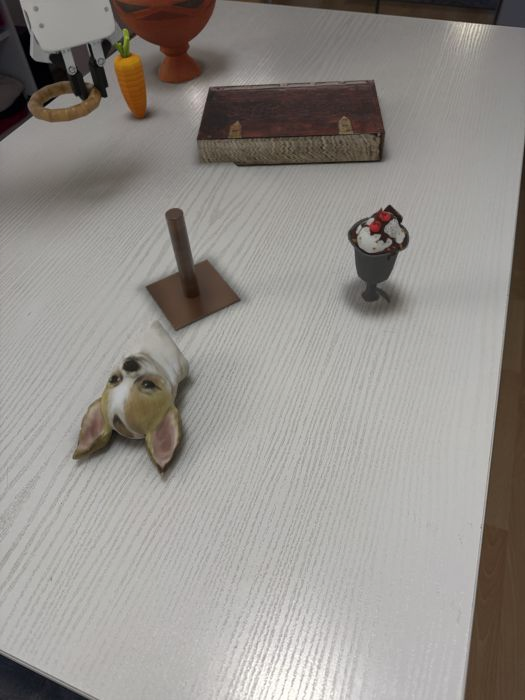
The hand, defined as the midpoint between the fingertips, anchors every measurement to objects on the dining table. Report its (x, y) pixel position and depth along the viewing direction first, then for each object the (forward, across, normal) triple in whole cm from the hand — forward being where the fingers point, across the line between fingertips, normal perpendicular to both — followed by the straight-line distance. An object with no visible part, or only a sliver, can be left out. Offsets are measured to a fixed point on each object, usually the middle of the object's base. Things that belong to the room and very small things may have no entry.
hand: (92, 95), depth 75 cm
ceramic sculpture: (+15, +14, +42) cm, 47 cm away
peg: (+14, +2, +29) cm, 33 cm away
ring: (0, +4, 0) cm, 4 cm away
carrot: (+15, -12, -18) cm, 26 cm away
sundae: (+14, -16, +42) cm, 48 cm away
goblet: (+15, -26, -30) cm, 42 cm away
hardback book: (+14, -30, +4) cm, 34 cm away
